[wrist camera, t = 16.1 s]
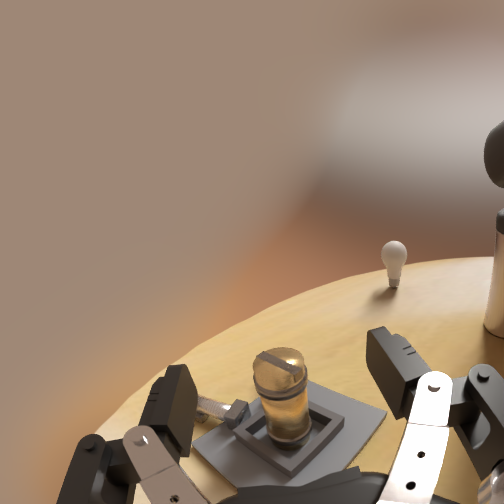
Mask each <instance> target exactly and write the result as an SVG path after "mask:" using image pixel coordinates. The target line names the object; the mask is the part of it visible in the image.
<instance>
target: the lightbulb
mask: <svg viewBox="0 0 504 504" xmlns="http://www.w3.org/2000/svg"><path fill="white" fill-rule="evenodd" d="M381 257H382V261H383V263H384V264H385V266H386V269H387V273H388V277H389V285H390V286H392V287H393V288H395V287H396V286H398V285H399V281H400V280H399V279H400V276H401V270H402V267H403V265H404V263H405V261H406V258H407V251H406V248H405V247H404V245H403V244H402V243H400V242H397V241H390V242H388V243H387V244H386V245H385V246H384V247H383V249H382V252H381Z"/></svg>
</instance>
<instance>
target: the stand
mask: <svg viewBox="0 0 504 504" xmlns="http://www.w3.org/2000/svg"><path fill="white" fill-rule="evenodd" d="M306 387H307V398H308V409H309V416H310V418H311V423H312V431H311V433H310V439H309V441H308V442H307V444H306V445H304V446H303V447H301V448H300V449H297V450H293V451H284V450H281V449H278V448H277V447H275V446H274V445H273V443H272V441H271V440H270V438H269V436H268V433H267V429H266V423H267V422H266V418H265V414H264V410H263V406H262V402H261V398H260V397H258V398H257V399H256V400H254V401H253V402H251V403H250V404H249V409H250V412H251V417H250V418H249V419H247V420H246V421H245V422H243V423H242V424H241V425H239V426H238V427H236V428H235V429H233V430H230V429H228V427H227V425H226V422H225V421H224V422H223V423H221V424H220V425H218V426H217V427H215V428H214V429H212V430H211V431H209V432H207V433H206V434H204V435H203V436H201V437H199V438H198V439H196V440H195V441H193V442H191V444H192V446H193V447H194V448H195V449H196V450H197V451H198V453H199V454H200V455H201V456H202V457H203V458H204V459H205V460H206V461H208V462H209V463H210V464H211V465H212V466H213V467H214V468H215V469H216V470H217V471H218V472H219V473H220V474H221V475H222V476H223V477H225V478H226V479H227V480H228V481H229V482H230V483H231V484H232V485H234V486H235V487H236V488H237V489H238V487H250V486H261V485H277V486H302V485H305V484H307V483H310V482H312V481H314V480H317V479H319V478H321V477H323V476H326V475H328V474H330V473H334V472H338V471H342V470H345V469H346V468H347V467H348V466H349V464H350V463H351V462H352V461H353V460H354V458H355V457H356V456H357V455H358V454H359V452H360V451H361V450H362V449H363V447H364V446H365V445H366V444H367V442H368V441H369V440H370V438H371V437H372V436H373V434H374V433H375V432H376V430H377V429H378V427H379V426H380V425H381V423H382V422H383V420H384V419H385V417H386V415H387V411H384V410H381V409H379V408H376V407H373V406H370V405H368V404H365V403H362V402H360V401H357V400H355V399H352V398H350V397H347V396H345V395H342V394H340V393H337V392H335V391H332V390H330V389H328V388H325V387H323V386H321V385H318V384H316V383H314V382H311V381H309V380H308V384H307V386H306Z"/></svg>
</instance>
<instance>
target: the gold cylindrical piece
mask: <svg viewBox="0 0 504 504" xmlns="http://www.w3.org/2000/svg"><path fill="white" fill-rule="evenodd" d="M253 370H254V376H253V379H254V383H255V387H256V391H257V392H258V394H259V395H260V398H261V402H262V406H263V410H264V414H265V418H266V422H267V423H266V429H267V433H268V436H269V438H270V440H271V441H272V443H273V445H274V446H275V447H277V448H278V449H281V450H284V451H293V450H297V449H300V448H301V447H303V446H304V445H306V444H307V442H308V441H309V439H310V433H311V431H312V423H311V418H310V416H309V409H308V398H307V387H306V386H307V384H308V375H307V368H306V366H305V364H304V358H303V356H302V354H301V353H300V352H299V351H297V350H295V349H292V348H285V347H280V348H274V349H270V350H267V351H265V352H264V351H263V352H262V353H260V354H259V355H257V356H256V359H255V360H254V362H253Z"/></svg>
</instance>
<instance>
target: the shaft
mask: <svg viewBox="0 0 504 504" xmlns="http://www.w3.org/2000/svg"><path fill="white" fill-rule="evenodd" d="M208 416H210V417H213V418H216V419H219V420H222V421H225V422H226V425H227V427H228V429H230V430H233V429H235V428H236V427H238V426H239V425H241V424H242V423H243V422H245V421H246V420H247V419H249V418H250V417H251V412H250V409H249V405H248V402H245V401H242V400H238V399H236V400H235V402H234V403H233V404H232V405H229V404H226V403H223V402H219V401H216V400H213V399H210V398H207V397H204V396H201V395H198V403H197V410H196V416H195V420H196V421H199V422H201V423H203V422H204V421H205V420H206V419H207V418H208Z"/></svg>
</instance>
